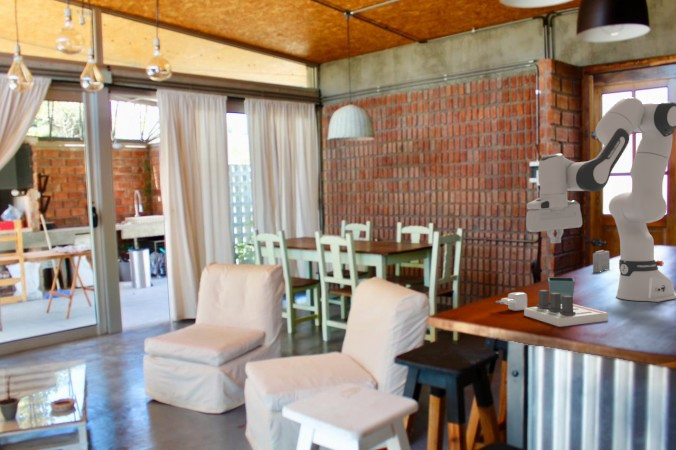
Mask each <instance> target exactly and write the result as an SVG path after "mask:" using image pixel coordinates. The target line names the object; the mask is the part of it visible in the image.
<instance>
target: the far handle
mask: <svg viewBox="0 0 676 450" xmlns="http://www.w3.org/2000/svg"><path fill="white" fill-rule="evenodd" d="M536 307H538V308H542V309H545V308H550V292H549V290H547V289H540V290H538V304H536Z"/></svg>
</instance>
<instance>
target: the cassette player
mask: <svg viewBox="0 0 676 450" xmlns="http://www.w3.org/2000/svg"><path fill="white" fill-rule="evenodd" d="M610 266H611V265H610V251H609V250H605V249H601V250H598V251H597V250H596V251H595V252H594V253H592V273H594V272H600V271H602V270H605V269H608V268H610ZM608 270H609V269H608ZM605 271H606V270H605ZM602 272H603V271H602ZM600 273H601V272H600Z"/></svg>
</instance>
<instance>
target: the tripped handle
mask: <svg viewBox="0 0 676 450" xmlns="http://www.w3.org/2000/svg"><path fill="white" fill-rule="evenodd" d="M573 304H574V297H572V296H562V311H560V314H562V315H566V316H569V315H575V312H573Z"/></svg>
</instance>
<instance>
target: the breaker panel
mask: <svg viewBox="0 0 676 450" xmlns="http://www.w3.org/2000/svg"><path fill="white" fill-rule="evenodd" d="M561 308H562V304H561ZM523 312H524V313H523V314H524V315H523V316H525V317H527V318H528V317H529V318H531V319H534V320H537V321H541V322H543V323H546V324H550V325H552V326H553V325H554V326H555V327H568V326H569V327H570V326H576V325H577V326H578V325H583V324H584V325H585V324H591V323H599V322H608V321H609V313H608V312H607V311H602V310H600V309H599V310H598V309H595V308H591V307H587V306H582V305H579V304H576V303H573V312H575V315H569V316H566V315H562V314H560V312H552V311H549V310H548V308H545V309H542V308H538V307H537V306H531V307H527V308H524V310H523Z"/></svg>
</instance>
